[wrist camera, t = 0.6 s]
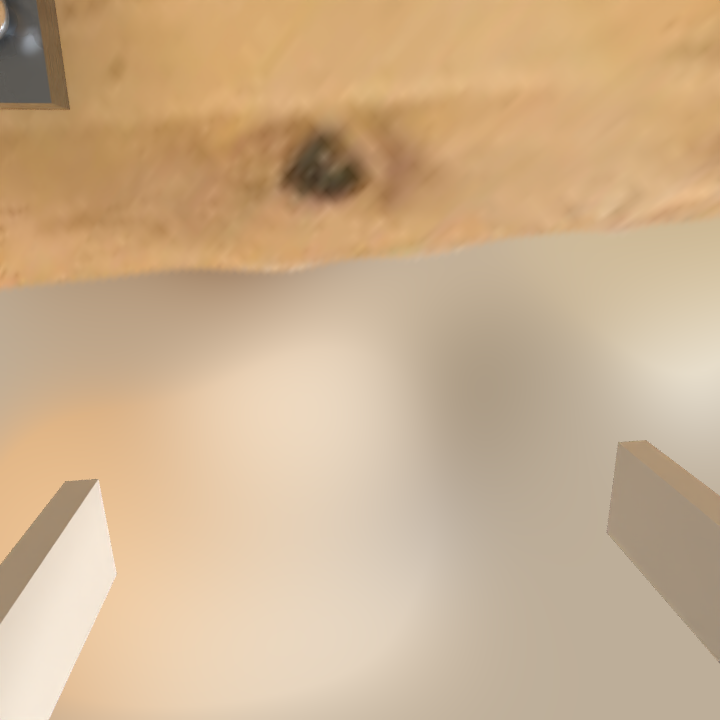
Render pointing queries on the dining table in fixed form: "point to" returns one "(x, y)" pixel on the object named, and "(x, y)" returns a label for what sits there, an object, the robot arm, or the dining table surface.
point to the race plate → (32, 58)
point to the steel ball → (3, 18)
